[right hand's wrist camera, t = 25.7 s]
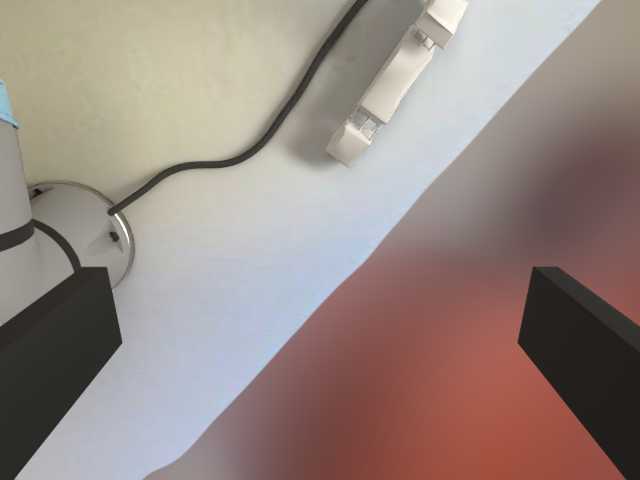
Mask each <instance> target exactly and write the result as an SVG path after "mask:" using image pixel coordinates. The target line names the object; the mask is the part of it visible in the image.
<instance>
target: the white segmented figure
mask: <svg viewBox="0 0 640 480" xmlns="http://www.w3.org/2000/svg"><path fill="white" fill-rule="evenodd" d="M467 6H468V2H467V1H466V0H428V1H427V2H426V4H425V6H424V8H423V10H422V12H421V13H420V15H419V17H418V19H417V21H416V22H415V24H413V25H411V26H410V27H409V29H408V30H407V31H406V33H405V34H404V35H403V37H402V38H401V40H400V41H399V43H398V44H397V46H396V47H395V49H394V50H393V52H392V53H391V55H390V56H389V57H388V59H387V60H386V62H385V63H384V65H383V66H382V68H381V69H380V70H379V72H378V73H377V75H376V76H375V78H374V79H373V80H372V82H371V83H370V85H369V86H368V88H367V89H366V91H365V92H364V93H363V95H362V96H361V98H360V99H359V101H358V102H357V104H356V110H355V111H354V113H353V114H352V116H351V117H350V118H349V117H348V118H347V119H346V120H345V121H344V122H343V123H342V124H341V125H340V126H339V127H338V129H337V130H336V131H335V133H334V134H333V135H332V137H331V139H330V141H329V143H328V145H327V147H326V150H325V151H326V152H327V153H328V154H330V155H331V156H332V157H334V158H335V159H337V160H338V161H339V162H341V163H342V164H343V165H345V166H346V167H348V168H350V167H351V166H352V165H353V164H354V163H355V162H356V160H357V159H358V158H359V157H360V156H361V155H362V154H363V153H364V151H365V150H366V149H367V148H368V147H369V145H370V143H371V141H372V138H373V137H374V135H375V134H376V133H377V131H378V130H379V129H380V127H381V126H382V125H383V124H386V123H387V122H388V121H389V119H390V118H391V116H392V114H393V113H394V111H395V110H396V108H397V106H398V105H399V103H400V101H401V100H402V98H403V96H404V95H405V94H406V92H407V91H408V89H409V88H410V86H411V85H412V84H413V82H414V81H415V79H416V78H417V76H418V75H419V74H420V72H421V71H422V70H423V69H424V67H425V66H426V65H427V63H428V62H429V61H430V60H431V58H432V57H433V53H434V45H435V44H437V45H438V46H439V47H440V48H442V49H443V50H444V48H445V47H446V45H447V44H448V43H449V41H450V40H451V38H452V37H453V35H454V33H455V31H456V28H457V26H458V23H459V21H460V20H461V18H462V16H463V14H464V12H465V10H466V9H467ZM358 110H359V111H360V112H362V113H363V114H364V115H366V116H367V117H368V118H367V120H366V121H365V122H364V123H363V125H362V126H360V125H359V124H357V123H356V122H354V121H353V119H354V117H355V116H356V113H357V111H358ZM351 118H352V119H351ZM370 119H371V120H372V121H374V122H375V123H376V124H377V125H376V127H375V128H374V129H373V130H372V131H371V130H368V129H365V128H363V127H364V126H365V124H366V123H367V122H368V121H369V120H370ZM379 125H380V126H379ZM378 126H379V127H378ZM377 127H378V128H377ZM376 128H377V130H376V131H375V133H373V132H374V130H375V129H376Z"/></svg>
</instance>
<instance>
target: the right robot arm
mask: <svg viewBox="0 0 640 480" xmlns="http://www.w3.org/2000/svg"><path fill="white" fill-rule="evenodd" d="M366 2H367V0H357V1H356V2H355V4H354V5H353V6H352V7H351V9H350V10H349V11H348V12H347V14H346V15H345V16H344V18H343V19H342V20H341V22H340V23H339V24H338V26H337V27H336V28H335V30H334V31H333V32H332V34H331V35H330V36H329V38H328V39H327V40H326V42H325V43H324V45H323V46H322V48H321V49H320V51H319V52H318V54H317V56H316V57H315V59H314V61H313V62H312V64H311V66H310V68H309V69H308V71H307V73H306V75H305V76H304V78H303V80H302V82H301V83H300V85H299V87H298V88H297V90H296V91H295V93H294V94H293V96H292V97H291V99H290V100H289V101H288V103H287V104H286V106H285V107H284V108H283V110H282V111H281V113H280V114H279V115H278V117H277V118H276V120H275V121H274V123H273V124H272V126H271V127H270V128H269V130H268V131H267V133H266V134H265V135H264V136H263V138H262V139H261V140H260V141H259V142H258V143H257V144H256V145H255V146H253V147H252V148H251V149H250V150H248V151H247V152H245V153H243V154H242V155H240V156H238V157H235V158H232V159H229V160H224V161H208V162H189V163H183V164H179V165H176V166H173V167H170V168H168V169H166V170H164V171H163V172H161V173H159V174H158V175H157V176H155V177H154V178H153V179H152V180H150V181H149V182H148V183H147V184H145V185H144V186H143V187H142V188H140V189H139V190H137V191H136V192H134V193H133V194H132V195H130V196H129V197H127V198H126V199H124V200H123V201H121V202H120V203H119V204H117V205H116V206H115V205H114V203H113V202H111V201H110V200H109V199H108V198H107V197H105V196H104V195H103V194H101V193H100V192H98V191H96V190H94V189H92V188H90V187H88V186H86V185H83V184H80V183H76V182H71V181H49V182H45V183H41V184H38V185H35V186H32V187H30V188H28V189H27V184H26V179H25V174H24V168H23V163H22V157H21V152H20V146H19V141H18V136H17V130H16V129H19V126H18V123H17V121H16V120H15V119H14V117H13V113H12V109H11V104H10V100H9V96H8V92H7V88H6V86H5V83H4V82H3V80H2V79H1V78H0V480H14V479H15V477H16V476H17V475H18V474H19V472H20V471H21V470H22V469H23V467H24V466H25V465H26V464H27V462H28V461H29V460H30V459H31V457H32V456H33V455H34V454H35V452H36V451H37V450H38V449H39V447H40V446H41V445H42V443H43V442H44V441H45V440H46V438H47V437H48V436H49V435H50V433H51V432H52V431H53V430H54V428H55V427H56V426H57V425H58V423H59V422H60V421H61V420H62V418H63V417H64V416H65V414H66V413H67V412H68V411H69V409H70V408H71V407H72V406H73V404H74V403H75V402H76V401H77V399H78V398H79V397H80V396H81V394H82V393H83V392H84V391H85V389H86V388H87V387H88V385H89V384H90V383H91V382H92V380H93V379H94V378H95V377H96V375H97V374H98V373H99V372H100V370H101V369H102V368H103V367H104V365H105V364H106V363H107V362H108V360H109V359H110V358H111V357H112V355H113V354H114V353H115V351H116V350H117V349H118V348H119V346H120V345H121V344H122V338H121V333H120V328H119V323H118V318H117V313H116V308H115V304H114V299H113V294H112V289H113V288H114V287H115V286H116V285H117V284H118V283H120V282H121V281H122V280H123V279H124V277H125V276H126V275H127V273H128V272H129V270H130V268H131V266H132V263H133V259H134V239H133V235H132V232H131V229H130V226H129V224H128V222H127V220H126V219H125V217H124V216H123V214H122V213H121V211H120V210H122V209H123V208H125V207H126V206H128V205H129V204H131V203H132V202H133V201H135V200H136V199H138V198H139V197H141V196H142V195H144V194H145V193H146V192H148V191H149V190H150V189H151V188H153V187H154V186H155V185H156V184H158V183H159V182H160V181H161V180H163V179H164V178H166V177H168V176H169V175H171V174H174V173H176V172H179V171H182V170H187V169H195V168H222V167H228V166H233V165H236V164H239V163H241V162H243V161H245V160H247V159H248V158H250V157H251V156H253V155H254V154H256V153H257V152H258V151H259V150H260V149H261V148H262V147H264V145H265V144H266V143H267V142H268V141H269V140H270V139H271V137H272V136H273V135H274V133H275V132H276V130H277V129H278V128H279V126H280V125H281V123H282V122H283V120H284V119H285V118H286V116H287V115H288V113H289V112H290V111H291V109H292V108H293V107H294V105H295V104H296V102H297V101H298V100H299V98H300V97H301V95H302V94H303V92H304V90H305V89H306V87H307V85H308V84H309V82H310V80H311V78H312V77H313V75H314V73H315V71H316V70H317V68H318V66H319V65H320V63H321V61H322V60H323V58H324V56H325V55H326V53H327V52H328V50H329V49H330V47H331V46H332V45H333V43H334V42H335V41H336V39H337V38H338V37H339V35H340V34H341V33H342V31H343V30H344V29H345V27H346V26H347V25H348V23H349V22H350V21H351V20H352V18H353V17H354V16H355V14H356V13H357V12H358V11H359V10H360V8H361V7H362V6H363V5H364V4H365V3H366ZM518 344H519V345H520V346H521V348H522V349H523V350H524V351H525V353H526V354H527V355H528V357H529V358H530V359H531V360H532V362H533V363H534V364H535V365H536V367H537V368H538V369H539V370H540V372H541V373H542V374H543V375H544V377H545V378H546V379H547V380H548V382H549V383H550V384H551V385H552V387H553V388H554V389H555V391H556V392H557V393H558V394H559V396H560V397H561V398H562V399H563V401H564V402H565V403H566V404H567V406H568V407H569V408H570V409H571V411H572V412H573V413H574V414H575V416H576V417H577V418H578V420H579V421H580V422H581V423H582V425H583V426H584V427H585V428H586V430H587V431H588V432H589V433H590V435H591V436H592V437H593V438H594V440H595V441H596V442H597V443H598V445H599V446H600V447H601V449H602V450H603V451H604V452H605V454H606V455H607V456H608V457H609V459H610V460H611V461H612V462H613V464H614V465H615V466H616V467H617V469H618V470H619V471H620V472H621V474H622V475H623V476H624V477H625V479H626V480H640V326H638V325H637V324H636V323H634V322H633V321H632V320H630V319H629V318H628V317H626V316H625V315H623V314H622V313H621V312H619V311H618V310H616V309H615V308H614V307H612V306H611V305H610V304H608V303H607V302H606V301H604V300H603V299H601V298H600V297H599V296H597V295H596V294H595V293H593V292H592V291H590V290H589V289H588V288H586V287H585V286H584V285H582V284H581V283H579V282H578V281H577V280H575V279H574V278H573V277H571V276H570V275H568V274H567V273H566V272H564V271H563V270H562V269H560V268H559V267H533V269H532V274H531V279H530V284H529V289H528V294H527V299H526V304H525V308H524V313H523V318H522V324H521V328H520V333H519V338H518Z"/></svg>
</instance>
